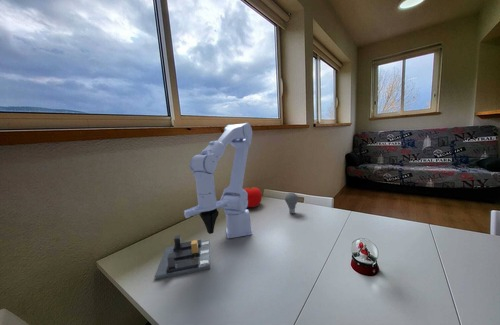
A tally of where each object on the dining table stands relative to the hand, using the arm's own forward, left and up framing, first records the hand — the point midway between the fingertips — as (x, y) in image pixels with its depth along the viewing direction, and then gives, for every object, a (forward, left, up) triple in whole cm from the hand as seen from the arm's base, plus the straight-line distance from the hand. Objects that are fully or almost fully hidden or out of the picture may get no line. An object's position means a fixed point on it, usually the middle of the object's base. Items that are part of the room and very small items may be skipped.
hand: (210, 232), depth 65 cm
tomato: (-22, -39, -8) cm, 45 cm away
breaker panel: (+8, 0, -8) cm, 11 cm away
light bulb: (-38, -22, -8) cm, 44 cm away
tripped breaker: (+5, 0, -6) cm, 8 cm away
